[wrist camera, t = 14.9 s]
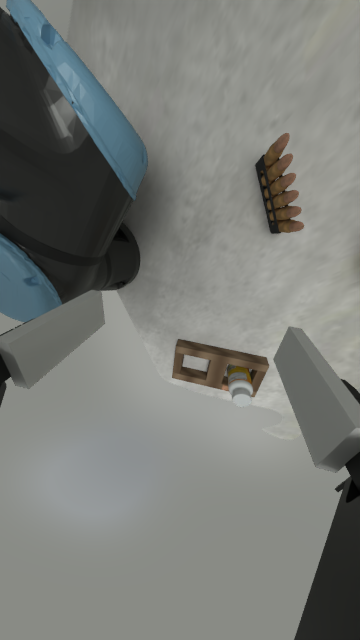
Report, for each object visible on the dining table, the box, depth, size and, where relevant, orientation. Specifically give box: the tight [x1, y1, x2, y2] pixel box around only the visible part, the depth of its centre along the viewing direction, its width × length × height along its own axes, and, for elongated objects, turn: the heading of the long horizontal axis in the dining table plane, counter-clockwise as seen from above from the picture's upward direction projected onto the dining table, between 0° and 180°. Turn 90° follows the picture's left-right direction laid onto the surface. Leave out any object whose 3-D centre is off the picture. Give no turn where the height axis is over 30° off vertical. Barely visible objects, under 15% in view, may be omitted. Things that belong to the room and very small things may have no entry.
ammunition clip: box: [255, 133, 304, 234], centre depth 24 cm, size 11×2×12 cm, turn 25°
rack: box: [172, 339, 269, 397], centre depth 46 cm, size 22×11×3 cm, turn 83°
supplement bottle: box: [227, 364, 253, 407], centre depth 43 cm, size 5×5×10 cm
